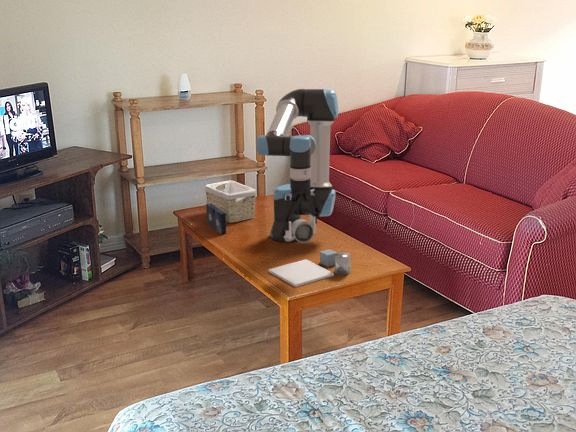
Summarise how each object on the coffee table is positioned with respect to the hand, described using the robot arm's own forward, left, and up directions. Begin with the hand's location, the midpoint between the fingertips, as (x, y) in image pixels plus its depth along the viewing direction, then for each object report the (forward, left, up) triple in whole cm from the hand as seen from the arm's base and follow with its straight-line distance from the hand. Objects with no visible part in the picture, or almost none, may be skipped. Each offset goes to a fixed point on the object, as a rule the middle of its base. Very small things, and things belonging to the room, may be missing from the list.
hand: (300, 235), depth 254 cm
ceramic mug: (0, -1, -2) cm, 2 cm away
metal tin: (-14, +8, -16) cm, 23 cm away
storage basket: (-15, -79, -16) cm, 82 cm away
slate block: (-15, -2, -16) cm, 22 cm away
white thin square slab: (0, 0, -16) cm, 16 cm away
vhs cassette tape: (0, -66, -16) cm, 68 cm away
